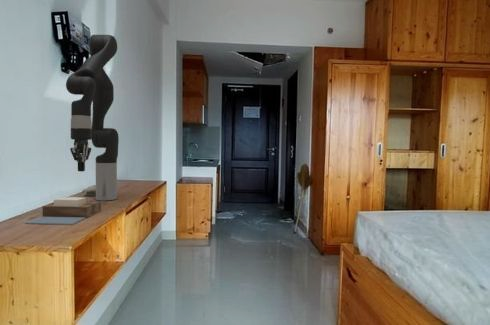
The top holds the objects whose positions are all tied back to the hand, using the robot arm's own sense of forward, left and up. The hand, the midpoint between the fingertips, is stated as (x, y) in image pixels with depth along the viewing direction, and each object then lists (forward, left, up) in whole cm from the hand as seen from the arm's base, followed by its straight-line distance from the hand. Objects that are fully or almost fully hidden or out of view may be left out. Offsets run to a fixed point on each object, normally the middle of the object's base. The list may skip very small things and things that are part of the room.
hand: (81, 171), depth 137 cm
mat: (+18, 0, -16) cm, 24 cm away
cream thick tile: (+9, 0, -12) cm, 15 cm away
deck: (+7, 0, -16) cm, 17 cm away
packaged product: (-39, -5, -13) cm, 41 cm away
